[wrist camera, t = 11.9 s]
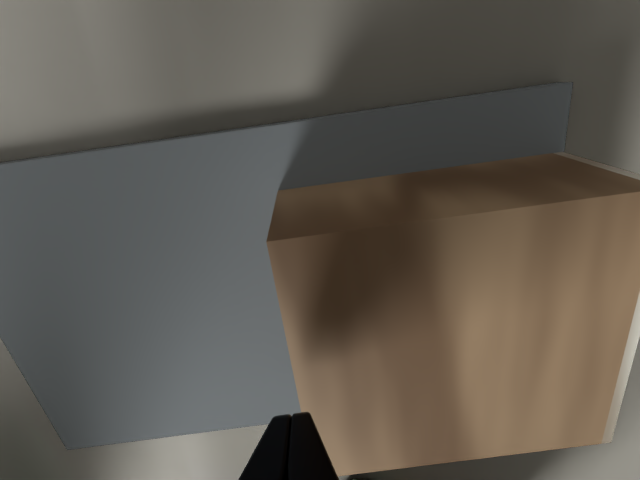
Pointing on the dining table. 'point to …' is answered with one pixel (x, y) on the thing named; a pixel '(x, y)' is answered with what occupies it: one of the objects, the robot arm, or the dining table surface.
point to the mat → (202, 256)
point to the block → (460, 308)
